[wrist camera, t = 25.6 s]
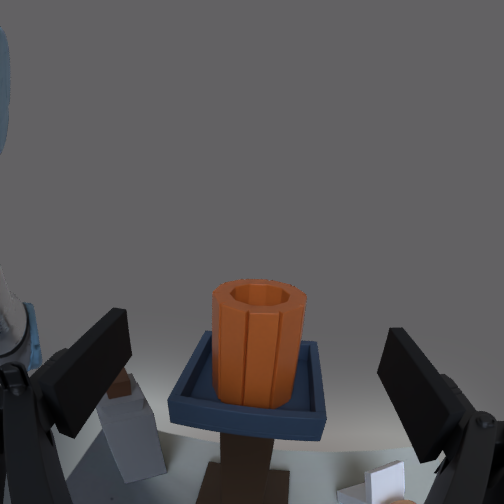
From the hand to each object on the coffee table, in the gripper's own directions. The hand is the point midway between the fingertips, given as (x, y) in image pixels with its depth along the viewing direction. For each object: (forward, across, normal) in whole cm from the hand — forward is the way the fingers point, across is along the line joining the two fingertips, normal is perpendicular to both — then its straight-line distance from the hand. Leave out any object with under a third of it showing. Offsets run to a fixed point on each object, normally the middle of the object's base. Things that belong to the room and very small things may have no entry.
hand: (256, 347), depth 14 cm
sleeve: (+9, 0, -10) cm, 13 cm away
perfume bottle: (+13, -16, -33) cm, 39 cm away
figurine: (+4, +17, -33) cm, 37 cm away
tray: (+9, 0, -32) cm, 34 cm away
